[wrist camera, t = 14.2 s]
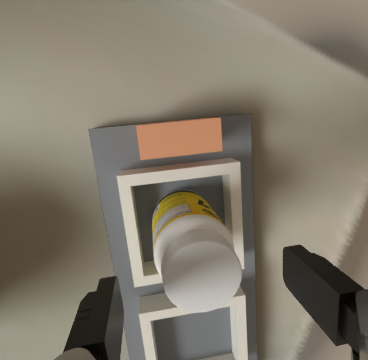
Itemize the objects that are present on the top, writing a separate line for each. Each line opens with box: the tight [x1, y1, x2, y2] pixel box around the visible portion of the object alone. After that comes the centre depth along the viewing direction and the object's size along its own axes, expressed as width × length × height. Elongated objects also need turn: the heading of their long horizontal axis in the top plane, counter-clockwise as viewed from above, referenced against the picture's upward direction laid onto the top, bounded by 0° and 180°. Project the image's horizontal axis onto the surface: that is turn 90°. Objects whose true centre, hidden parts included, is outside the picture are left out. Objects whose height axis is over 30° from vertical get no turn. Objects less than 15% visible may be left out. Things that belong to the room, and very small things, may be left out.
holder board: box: [88, 114, 258, 360], centre depth 21 cm, size 26×12×6 cm, turn 5°
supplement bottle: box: [152, 189, 242, 313], centre depth 16 cm, size 5×5×8 cm
